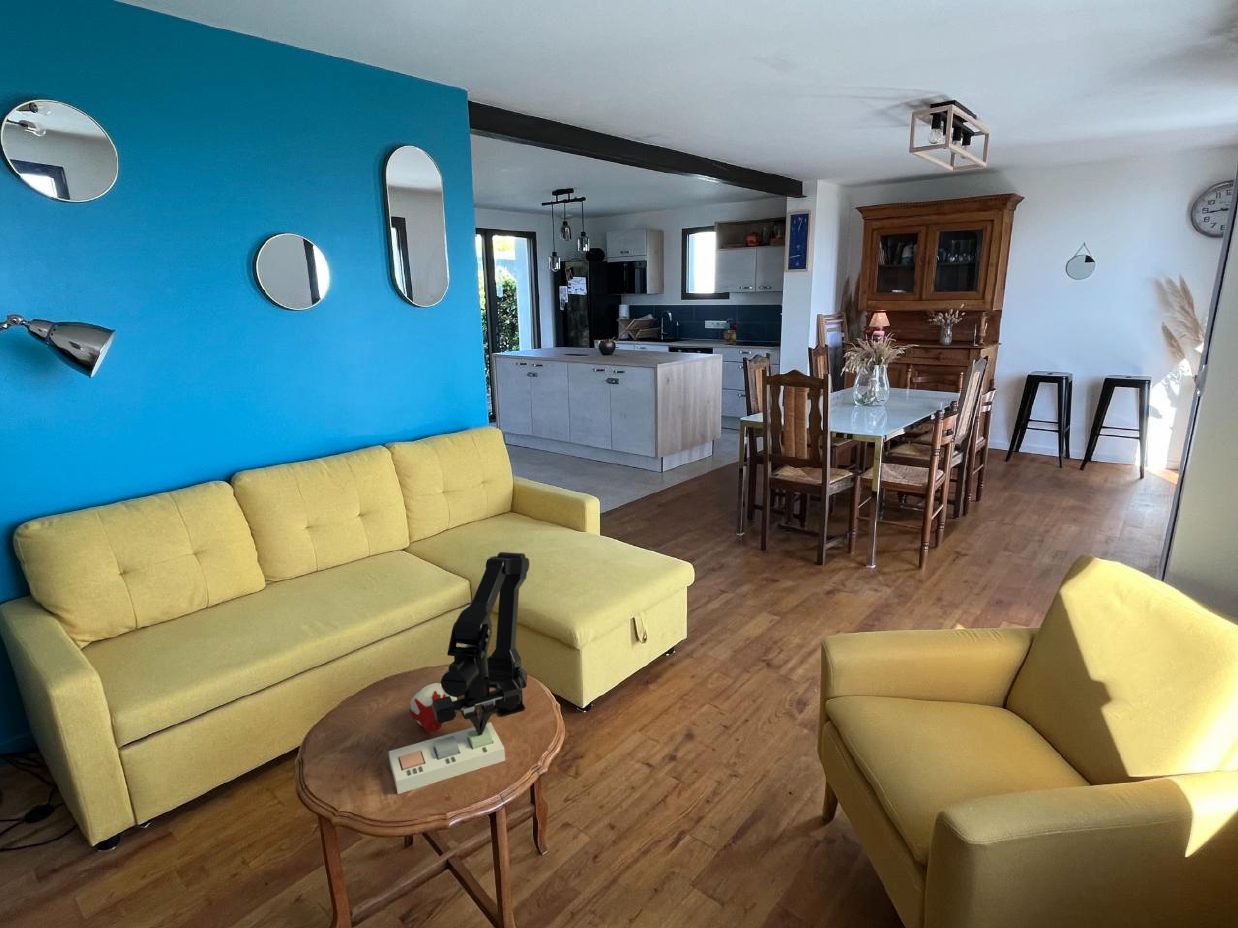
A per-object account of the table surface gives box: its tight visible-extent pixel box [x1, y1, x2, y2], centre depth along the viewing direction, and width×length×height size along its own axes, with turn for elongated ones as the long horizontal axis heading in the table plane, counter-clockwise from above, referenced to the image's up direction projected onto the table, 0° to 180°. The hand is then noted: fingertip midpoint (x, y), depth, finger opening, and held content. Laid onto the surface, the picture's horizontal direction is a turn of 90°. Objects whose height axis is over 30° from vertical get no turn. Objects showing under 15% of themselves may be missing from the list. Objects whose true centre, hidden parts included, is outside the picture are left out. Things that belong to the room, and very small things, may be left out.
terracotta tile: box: [399, 751, 424, 771], centre depth 148 cm, size 4×4×2 cm
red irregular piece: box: [409, 682, 458, 734], centre depth 165 cm, size 9×11×15 cm
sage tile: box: [468, 726, 492, 750], centre depth 154 cm, size 4×4×2 cm
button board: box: [388, 722, 506, 795], centre depth 151 cm, size 23×11×3 cm, turn 116°
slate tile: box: [434, 736, 459, 760], centre depth 151 cm, size 4×4×2 cm
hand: (479, 734), depth 154 cm, fingers closed, pressing on sage tile
